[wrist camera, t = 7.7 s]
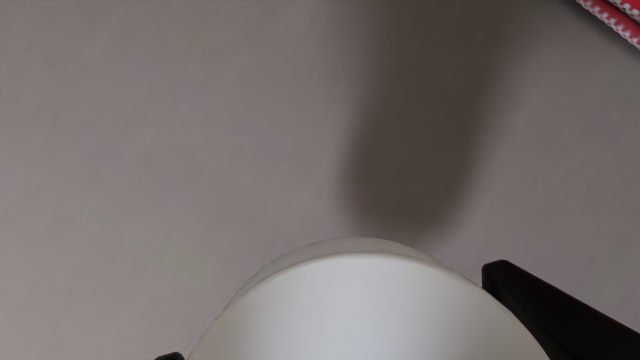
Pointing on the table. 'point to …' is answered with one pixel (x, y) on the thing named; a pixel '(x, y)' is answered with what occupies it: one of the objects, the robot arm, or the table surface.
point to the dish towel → (618, 16)
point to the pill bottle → (363, 310)
